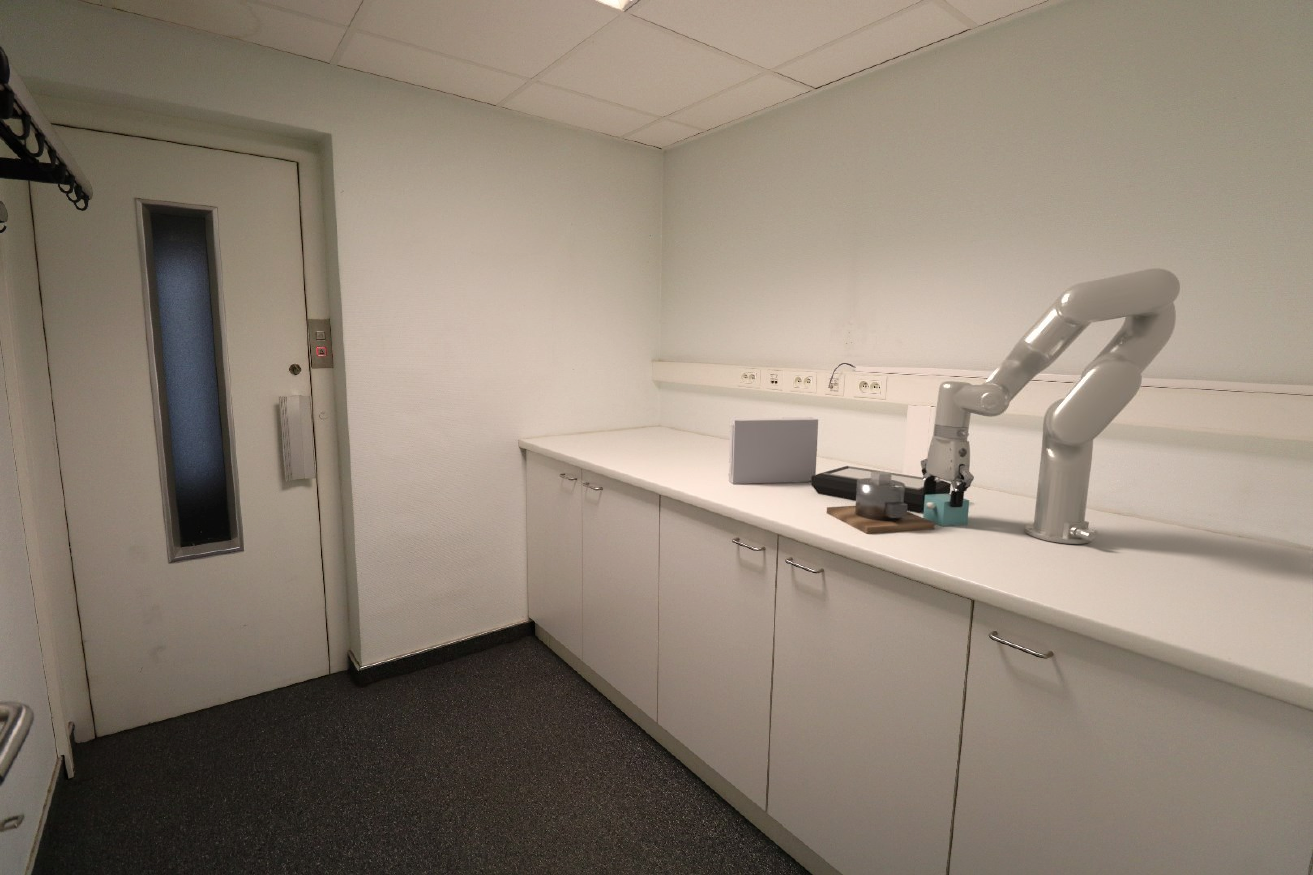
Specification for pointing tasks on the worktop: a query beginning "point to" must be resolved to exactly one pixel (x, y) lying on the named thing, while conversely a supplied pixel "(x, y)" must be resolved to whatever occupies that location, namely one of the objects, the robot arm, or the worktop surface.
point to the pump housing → (945, 510)
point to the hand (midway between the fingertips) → (941, 501)
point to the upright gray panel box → (772, 450)
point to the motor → (880, 498)
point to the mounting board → (877, 526)
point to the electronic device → (846, 477)
